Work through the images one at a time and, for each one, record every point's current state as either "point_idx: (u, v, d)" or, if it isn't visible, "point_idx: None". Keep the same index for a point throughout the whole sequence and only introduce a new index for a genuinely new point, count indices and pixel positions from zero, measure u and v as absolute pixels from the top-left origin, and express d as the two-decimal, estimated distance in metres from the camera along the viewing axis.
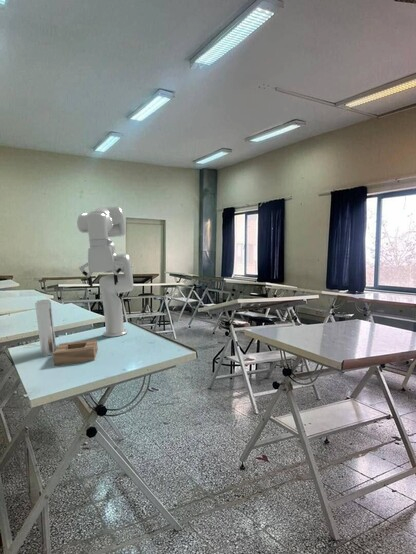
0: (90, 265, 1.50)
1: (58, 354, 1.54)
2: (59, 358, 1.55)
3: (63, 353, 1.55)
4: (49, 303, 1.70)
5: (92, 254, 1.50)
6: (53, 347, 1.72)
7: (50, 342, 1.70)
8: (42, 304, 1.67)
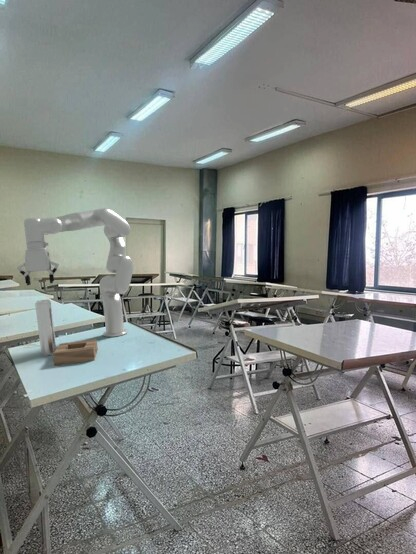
0: (27, 265, 1.66)
1: (58, 354, 1.54)
2: (59, 358, 1.55)
3: (63, 353, 1.55)
4: (49, 303, 1.70)
5: (28, 255, 1.65)
6: (53, 347, 1.72)
7: (50, 342, 1.70)
8: (42, 304, 1.67)
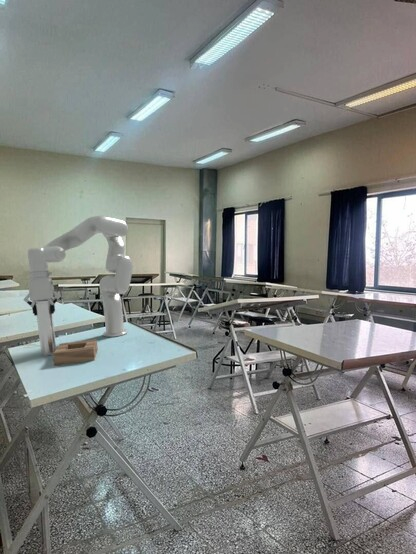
0: (31, 294, 1.67)
1: (58, 354, 1.54)
2: (59, 358, 1.55)
3: (63, 353, 1.55)
4: (49, 303, 1.70)
5: (32, 285, 1.67)
6: (53, 347, 1.72)
7: (50, 342, 1.70)
8: (42, 304, 1.67)
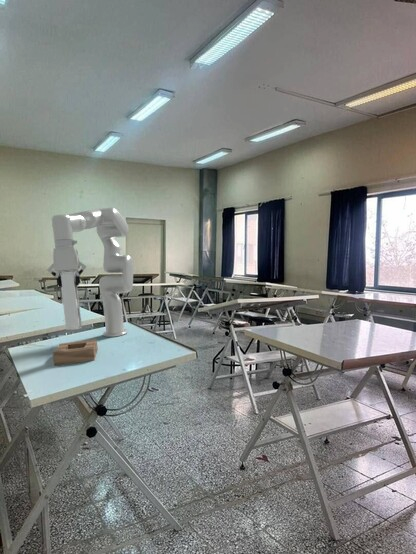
0: (55, 264, 1.57)
1: (58, 354, 1.54)
2: (59, 358, 1.55)
3: (63, 353, 1.55)
4: (74, 274, 1.60)
5: (57, 254, 1.56)
6: (78, 321, 1.61)
7: (75, 315, 1.60)
8: (67, 275, 1.57)
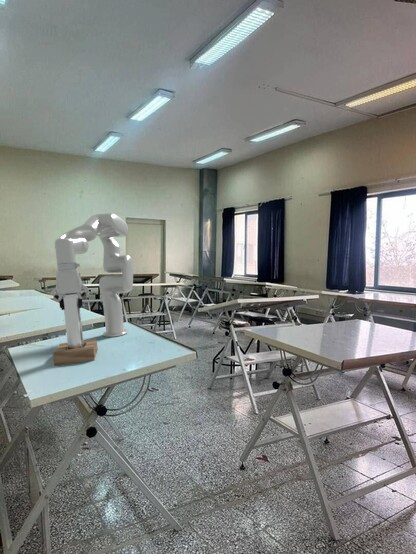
0: (58, 288, 1.58)
1: (58, 354, 1.54)
2: (59, 358, 1.55)
3: (63, 353, 1.55)
4: (77, 297, 1.61)
5: (60, 277, 1.57)
6: (81, 343, 1.62)
7: (78, 338, 1.61)
8: (70, 298, 1.58)
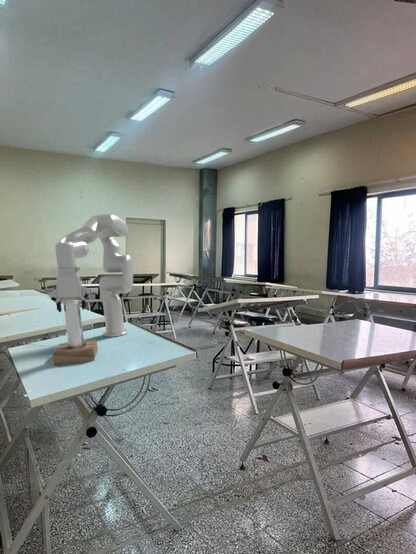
0: (58, 291, 1.58)
1: (58, 354, 1.54)
2: (59, 358, 1.55)
3: (63, 353, 1.55)
4: (78, 304, 1.62)
5: (60, 281, 1.58)
6: None
7: (79, 345, 1.61)
8: (71, 305, 1.59)
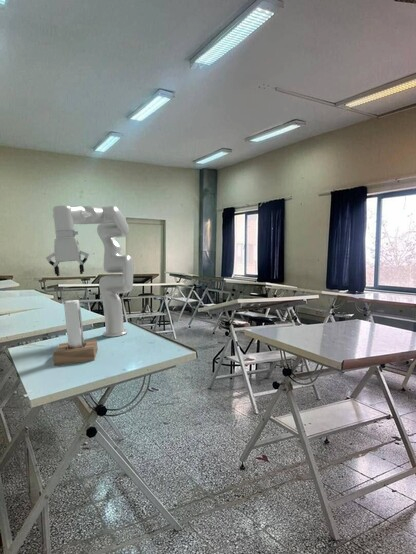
0: (56, 255, 1.57)
1: (58, 354, 1.54)
2: (59, 358, 1.55)
3: (63, 353, 1.55)
4: (78, 304, 1.62)
5: (58, 244, 1.57)
6: None
7: (79, 345, 1.61)
8: (71, 305, 1.59)
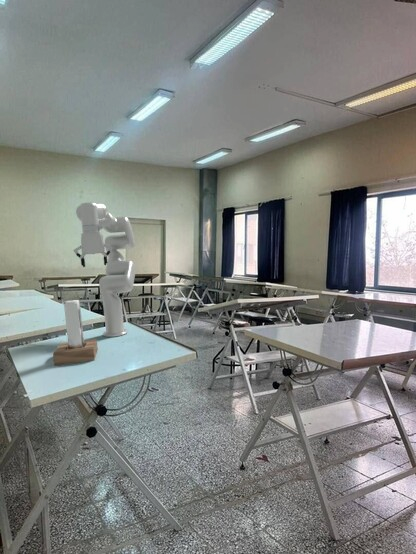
0: (83, 248, 1.73)
1: (58, 354, 1.54)
2: (59, 358, 1.55)
3: (63, 353, 1.55)
4: (78, 304, 1.62)
5: (84, 238, 1.72)
6: None
7: (79, 345, 1.61)
8: (71, 305, 1.59)
